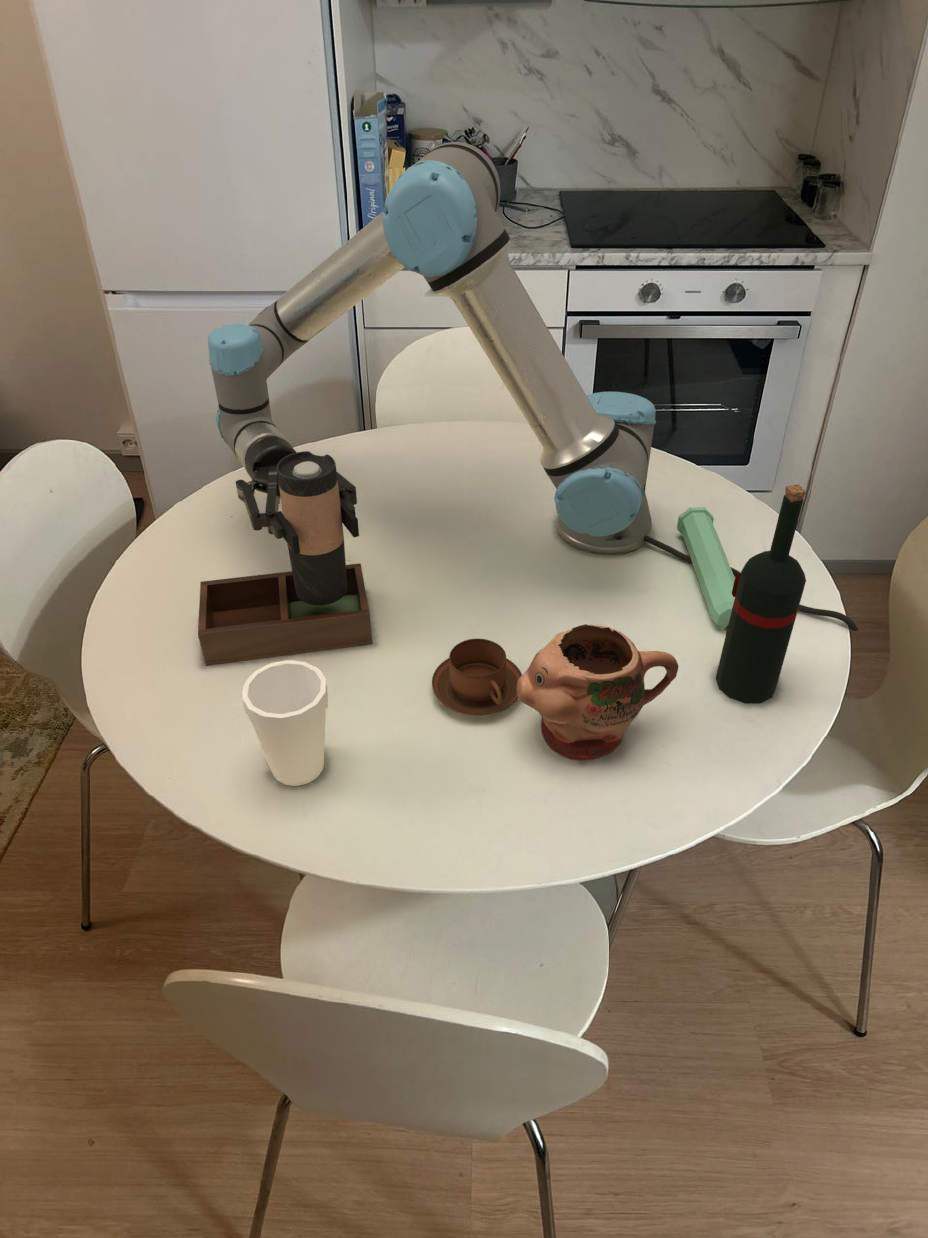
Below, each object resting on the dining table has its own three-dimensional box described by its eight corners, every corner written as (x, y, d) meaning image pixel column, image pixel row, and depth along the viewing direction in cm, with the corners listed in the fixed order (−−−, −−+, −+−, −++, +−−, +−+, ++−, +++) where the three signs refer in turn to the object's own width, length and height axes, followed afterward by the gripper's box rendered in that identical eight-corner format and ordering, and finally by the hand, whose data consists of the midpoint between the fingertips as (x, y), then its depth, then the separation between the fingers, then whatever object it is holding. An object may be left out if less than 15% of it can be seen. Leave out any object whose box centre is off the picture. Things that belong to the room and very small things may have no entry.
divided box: (372, 644, 129) (369, 613, 125) (205, 665, 125) (197, 634, 122) (363, 593, 138) (360, 563, 134) (207, 611, 135) (200, 581, 131)
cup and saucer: (541, 690, 121) (543, 655, 117) (480, 738, 114) (481, 703, 111) (474, 649, 128) (475, 615, 124) (413, 693, 121) (411, 658, 117)
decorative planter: (643, 684, 122) (657, 601, 113) (686, 748, 113) (704, 665, 104) (501, 714, 118) (504, 631, 109) (534, 784, 109) (539, 700, 100)
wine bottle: (748, 648, 128) (797, 457, 109) (787, 697, 120) (846, 501, 101) (697, 658, 126) (737, 466, 107) (733, 709, 118) (783, 512, 99)
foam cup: (262, 739, 114) (246, 662, 106) (337, 735, 115) (327, 657, 107) (255, 799, 107) (238, 720, 99) (335, 793, 108) (324, 715, 100)
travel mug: (305, 613, 125) (287, 485, 112) (286, 583, 130) (267, 458, 117) (357, 597, 127) (345, 471, 115) (337, 568, 133) (323, 445, 120)
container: (749, 600, 126) (708, 501, 145) (706, 613, 128) (672, 513, 147) (757, 629, 130) (716, 529, 149) (716, 642, 131) (681, 541, 150)
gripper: (336, 465, 140) (399, 539, 124) (204, 498, 132) (254, 582, 116) (331, 420, 135) (397, 491, 119) (195, 452, 127) (245, 532, 112)
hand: (326, 536), depth 118 cm, fingers closed on travel mug, 7 cm apart
